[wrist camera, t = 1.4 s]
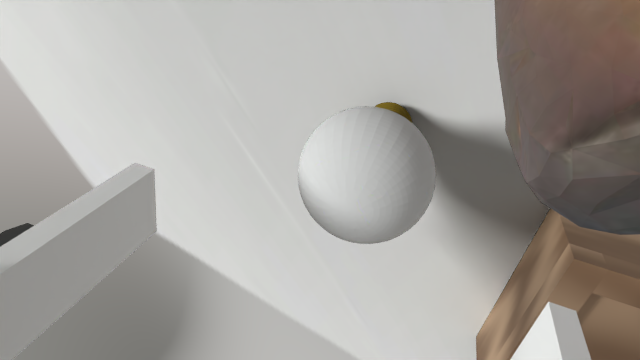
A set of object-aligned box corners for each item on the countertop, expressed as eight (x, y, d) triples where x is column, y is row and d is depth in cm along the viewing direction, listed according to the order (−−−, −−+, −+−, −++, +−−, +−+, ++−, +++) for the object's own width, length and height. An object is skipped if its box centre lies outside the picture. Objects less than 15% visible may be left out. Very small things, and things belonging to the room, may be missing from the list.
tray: (554, 201, 23) (574, 258, 19) (798, 273, 21) (882, 356, 17) (476, 336, 30) (477, 403, 25) (657, 402, 27) (693, 487, 23)
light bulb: (400, 45, 22) (357, 105, 14) (466, 130, 23) (464, 234, 15) (321, 110, 25) (248, 191, 17) (383, 182, 26) (343, 292, 18)
